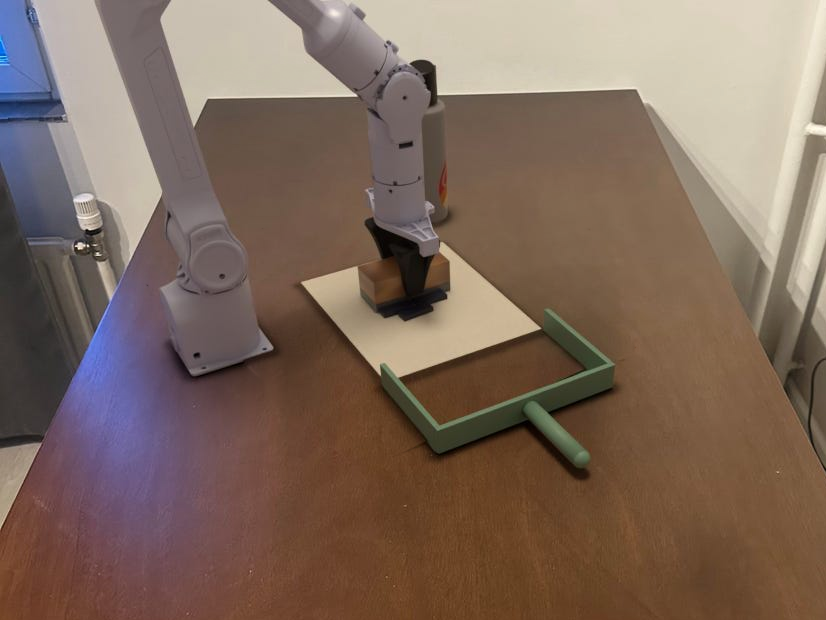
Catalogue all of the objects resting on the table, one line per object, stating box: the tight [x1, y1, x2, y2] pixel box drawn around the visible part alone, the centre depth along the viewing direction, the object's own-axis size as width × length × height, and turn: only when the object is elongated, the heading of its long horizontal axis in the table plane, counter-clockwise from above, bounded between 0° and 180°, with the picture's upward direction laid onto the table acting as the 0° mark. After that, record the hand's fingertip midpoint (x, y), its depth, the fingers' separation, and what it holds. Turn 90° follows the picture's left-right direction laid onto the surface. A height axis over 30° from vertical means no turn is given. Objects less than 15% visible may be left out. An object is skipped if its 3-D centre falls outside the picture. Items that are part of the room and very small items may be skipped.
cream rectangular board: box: [300, 241, 542, 379], centre depth 106 cm, size 20×24×1 cm
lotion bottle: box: [408, 59, 449, 224], centre depth 116 cm, size 6×6×20 cm
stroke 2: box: [412, 289, 448, 305], centre depth 107 cm, size 4×2×1 cm, turn 120°
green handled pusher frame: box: [380, 307, 616, 469], centre depth 91 cm, size 22×21×3 cm
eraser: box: [357, 252, 450, 313], centre depth 107 cm, size 10×4×4 cm, turn 121°
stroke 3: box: [398, 302, 434, 321], centre depth 105 cm, size 4×2×1 cm, turn 125°
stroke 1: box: [379, 299, 415, 318], centre depth 105 cm, size 4×2×1 cm, turn 121°
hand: (405, 284), depth 107 cm, fingers closed on eraser, 4 cm apart
